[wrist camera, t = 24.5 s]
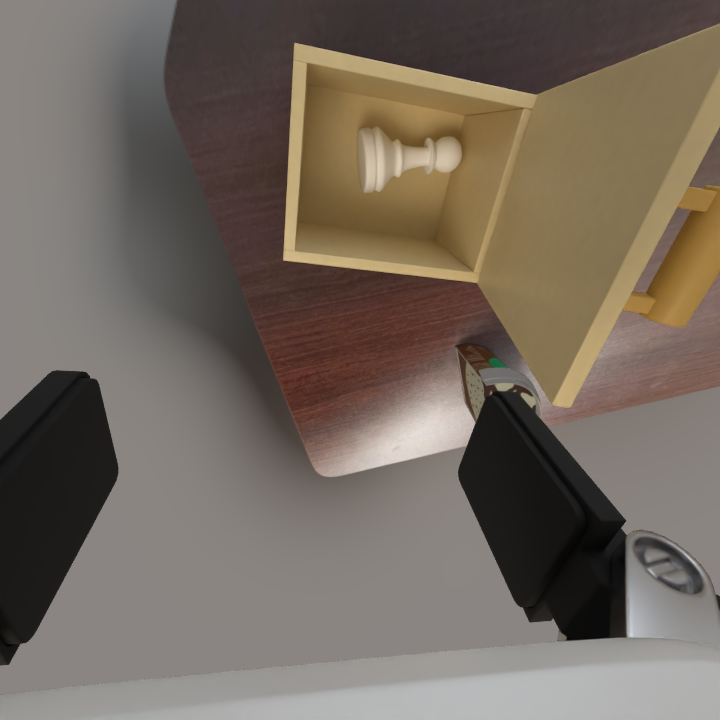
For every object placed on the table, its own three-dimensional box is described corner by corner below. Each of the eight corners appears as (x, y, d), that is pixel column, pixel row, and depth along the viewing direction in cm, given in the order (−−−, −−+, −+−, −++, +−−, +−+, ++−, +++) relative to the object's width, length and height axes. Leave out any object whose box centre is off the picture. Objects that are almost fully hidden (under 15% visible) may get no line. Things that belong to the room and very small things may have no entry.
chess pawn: (360, 200, 35) (453, 192, 36) (368, 182, 30) (475, 173, 31) (354, 143, 35) (448, 136, 36) (361, 115, 30) (470, 108, 31)
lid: (551, 405, 16) (664, 425, 16) (749, 11, 10) (933, 43, 10) (477, 284, 30) (536, 294, 30) (537, 93, 24) (611, 107, 24)
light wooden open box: (289, 227, 38) (283, 260, 28) (298, 71, 32) (294, 42, 22) (437, 246, 41) (479, 283, 30) (472, 107, 34) (539, 95, 24)
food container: (508, 397, 53) (547, 448, 44) (466, 410, 53) (496, 463, 44) (501, 321, 46) (545, 363, 38) (453, 336, 47) (485, 381, 38)
